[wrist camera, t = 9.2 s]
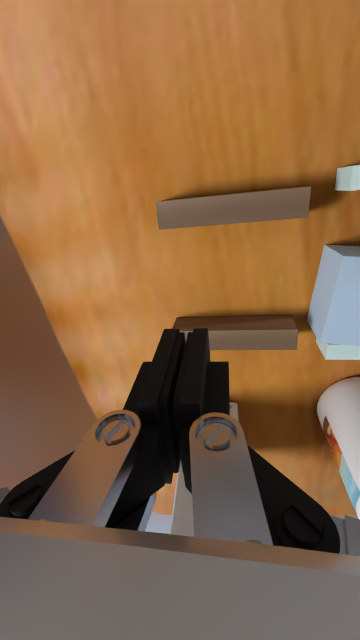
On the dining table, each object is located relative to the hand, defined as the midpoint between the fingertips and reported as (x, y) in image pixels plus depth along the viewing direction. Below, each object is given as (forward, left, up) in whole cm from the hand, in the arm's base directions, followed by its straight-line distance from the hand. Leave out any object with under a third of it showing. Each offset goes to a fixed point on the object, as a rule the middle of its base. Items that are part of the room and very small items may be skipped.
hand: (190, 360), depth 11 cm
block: (+3, +13, -17) cm, 21 cm away
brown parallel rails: (+1, +2, -16) cm, 16 cm away
